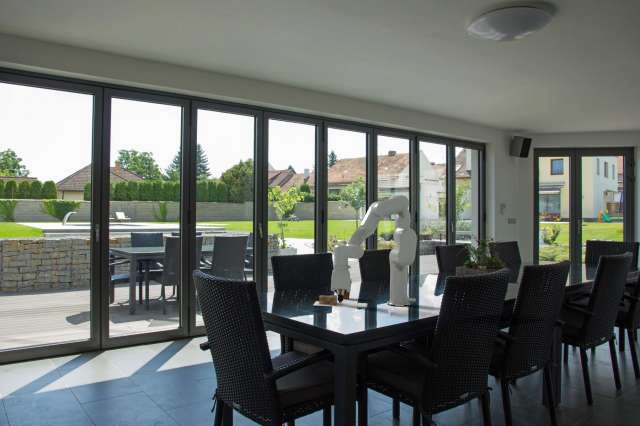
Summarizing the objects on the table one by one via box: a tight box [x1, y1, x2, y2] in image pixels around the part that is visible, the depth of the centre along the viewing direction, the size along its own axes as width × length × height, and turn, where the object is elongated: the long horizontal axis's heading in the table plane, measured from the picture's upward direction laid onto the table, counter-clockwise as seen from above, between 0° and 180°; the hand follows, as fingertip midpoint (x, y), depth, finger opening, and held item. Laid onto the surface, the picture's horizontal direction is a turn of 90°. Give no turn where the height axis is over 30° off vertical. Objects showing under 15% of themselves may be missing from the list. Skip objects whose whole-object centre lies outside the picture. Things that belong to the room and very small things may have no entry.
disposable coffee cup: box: [339, 278, 353, 300], centre depth 279 cm, size 10×10×12 cm
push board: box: [313, 300, 368, 308], centre depth 260 cm, size 28×12×1 cm, turn 83°
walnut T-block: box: [318, 294, 338, 307], centre depth 261 cm, size 9×9×4 cm
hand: (340, 302), depth 260 cm, fingers closed
